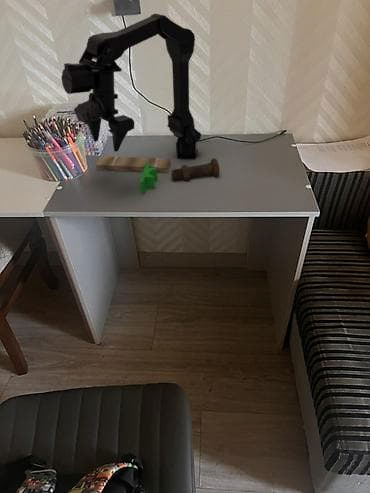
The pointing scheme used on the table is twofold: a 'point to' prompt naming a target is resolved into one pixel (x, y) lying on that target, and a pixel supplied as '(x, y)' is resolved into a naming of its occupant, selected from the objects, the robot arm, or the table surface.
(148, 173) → the pipe clamp
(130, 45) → the robot arm
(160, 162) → the brown wooden plank
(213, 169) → the bolt
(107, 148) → the table surface
